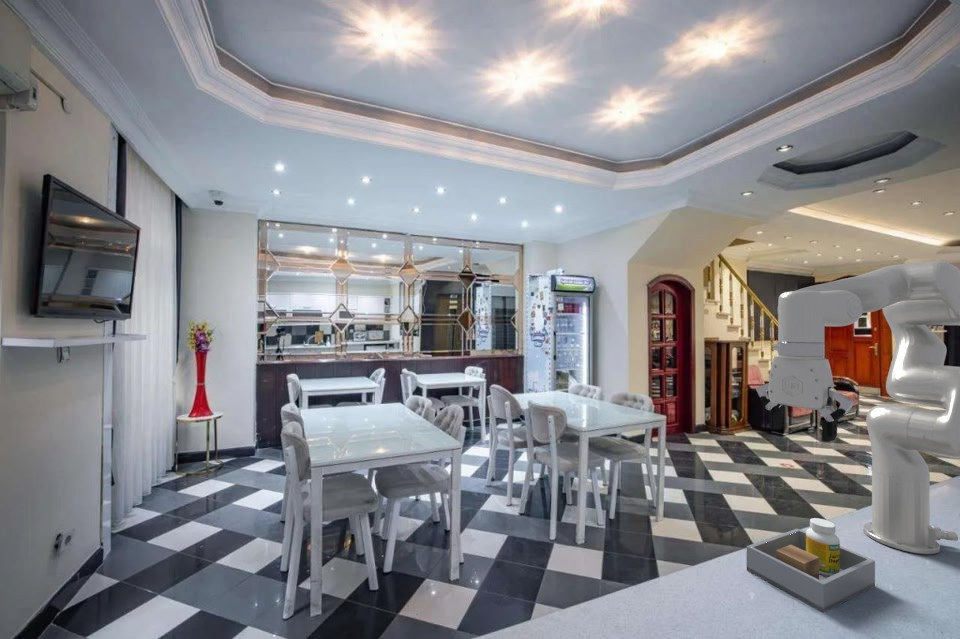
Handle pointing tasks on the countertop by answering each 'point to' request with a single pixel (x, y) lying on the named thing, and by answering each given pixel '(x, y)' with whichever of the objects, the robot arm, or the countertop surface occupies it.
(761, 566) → the tote
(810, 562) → the walnut cube
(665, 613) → the countertop surface
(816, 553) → the supplement bottle
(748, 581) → the countertop surface
